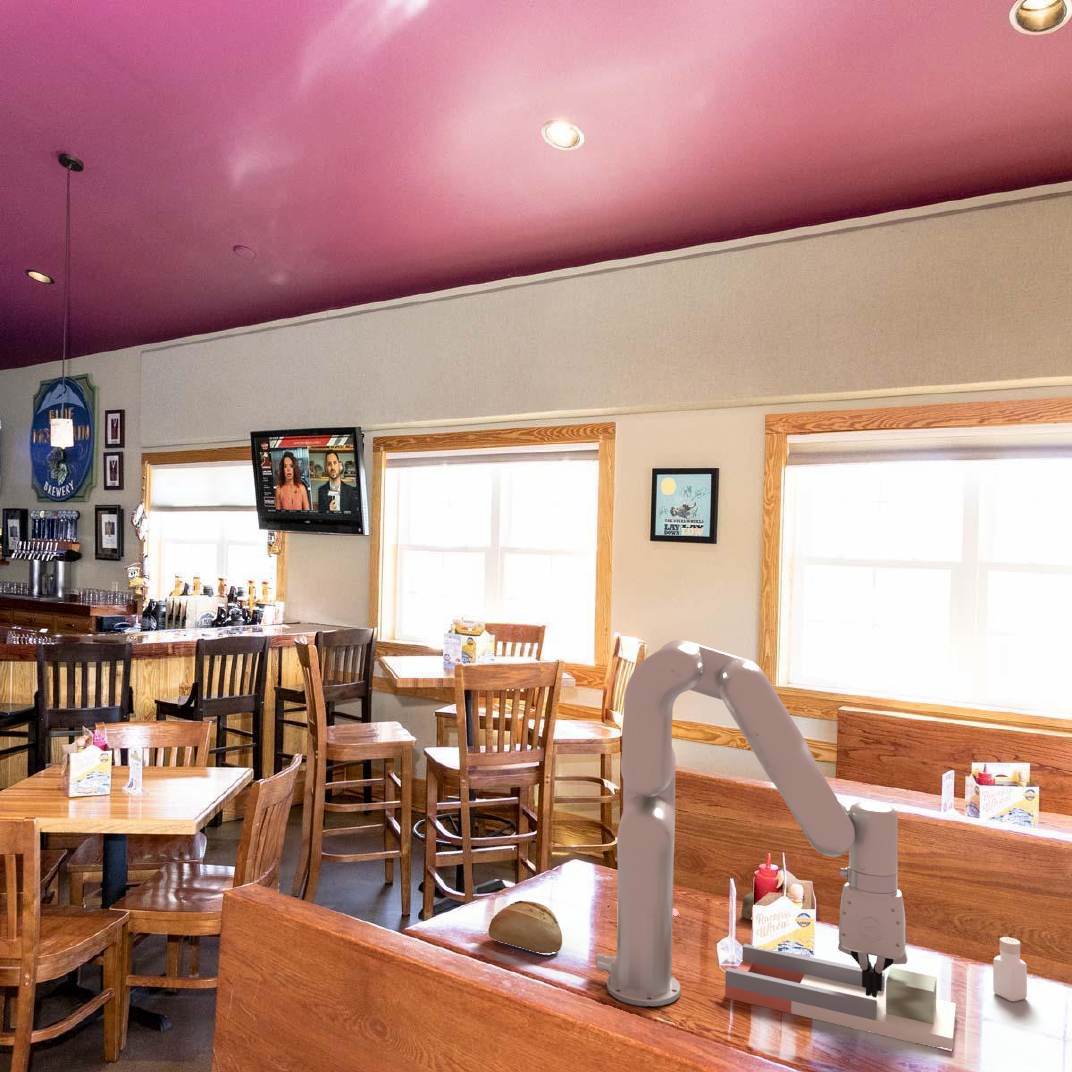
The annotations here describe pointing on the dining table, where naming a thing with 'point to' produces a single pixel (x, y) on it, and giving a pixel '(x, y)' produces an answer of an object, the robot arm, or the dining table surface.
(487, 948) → the dining table surface
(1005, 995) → the salt shaker
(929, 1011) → the sage block
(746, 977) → the track
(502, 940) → the bread roll
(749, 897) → the stone block
